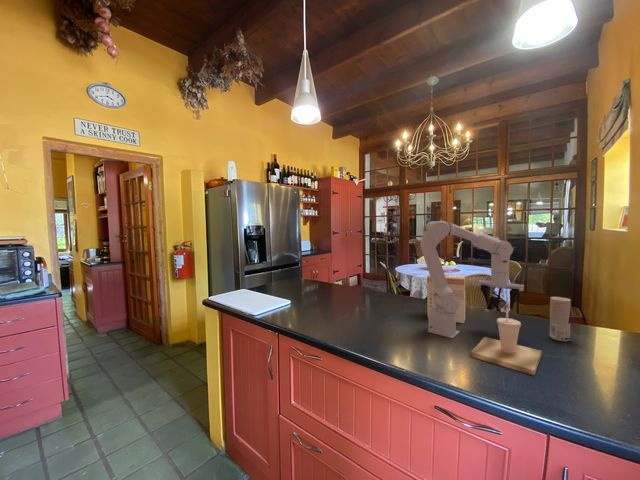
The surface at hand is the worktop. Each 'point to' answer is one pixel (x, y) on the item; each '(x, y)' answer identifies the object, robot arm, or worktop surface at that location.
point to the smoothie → (508, 333)
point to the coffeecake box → (458, 291)
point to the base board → (508, 356)
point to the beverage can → (560, 318)
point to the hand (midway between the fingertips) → (499, 306)
